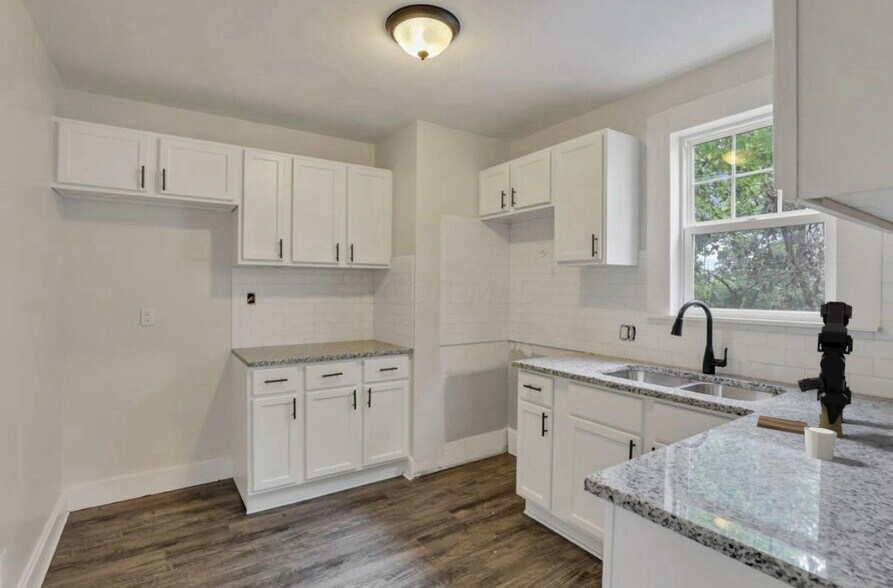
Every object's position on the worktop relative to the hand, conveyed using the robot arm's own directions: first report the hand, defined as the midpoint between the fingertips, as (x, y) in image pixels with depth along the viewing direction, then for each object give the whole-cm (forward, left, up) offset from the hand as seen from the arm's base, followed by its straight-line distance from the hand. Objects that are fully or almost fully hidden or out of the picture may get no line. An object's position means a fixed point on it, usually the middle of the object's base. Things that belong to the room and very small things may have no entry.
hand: (830, 421), depth 144 cm
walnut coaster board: (-1, -12, -4) cm, 13 cm away
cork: (0, 0, -4) cm, 4 cm away
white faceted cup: (+27, -4, -4) cm, 28 cm away
